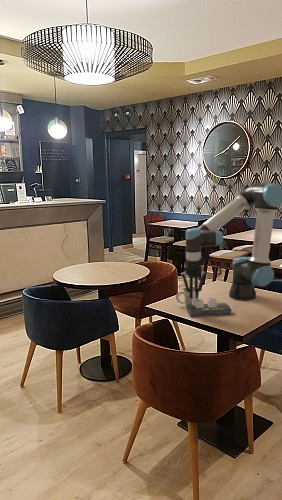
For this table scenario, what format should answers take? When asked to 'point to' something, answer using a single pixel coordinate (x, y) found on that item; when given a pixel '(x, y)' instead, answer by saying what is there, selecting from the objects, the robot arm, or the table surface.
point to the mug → (186, 297)
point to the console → (209, 310)
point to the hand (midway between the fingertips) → (193, 304)
